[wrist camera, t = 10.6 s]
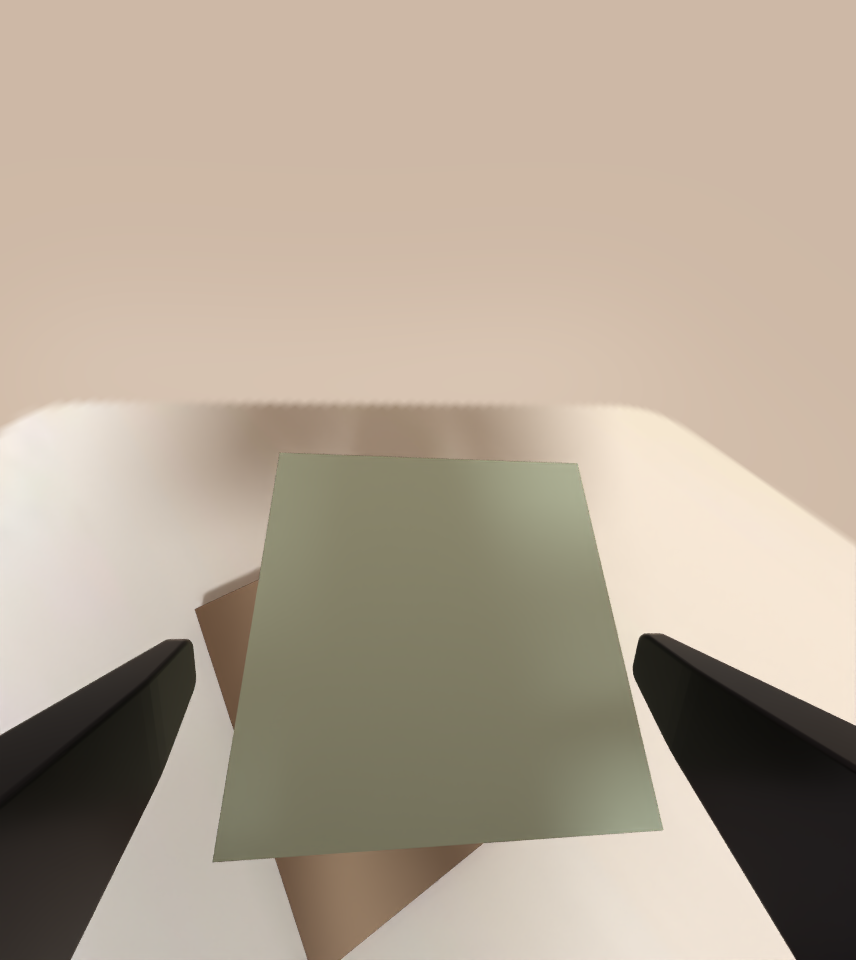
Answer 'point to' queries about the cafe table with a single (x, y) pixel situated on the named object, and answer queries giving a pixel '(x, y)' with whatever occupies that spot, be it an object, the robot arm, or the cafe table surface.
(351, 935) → the walnut board
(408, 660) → the sage green block
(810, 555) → the cafe table surface
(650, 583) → the cafe table surface
